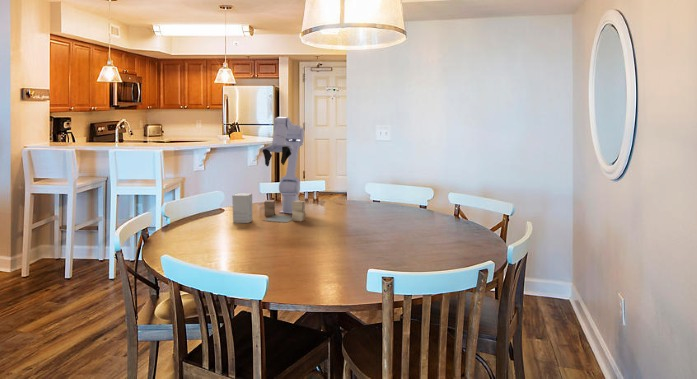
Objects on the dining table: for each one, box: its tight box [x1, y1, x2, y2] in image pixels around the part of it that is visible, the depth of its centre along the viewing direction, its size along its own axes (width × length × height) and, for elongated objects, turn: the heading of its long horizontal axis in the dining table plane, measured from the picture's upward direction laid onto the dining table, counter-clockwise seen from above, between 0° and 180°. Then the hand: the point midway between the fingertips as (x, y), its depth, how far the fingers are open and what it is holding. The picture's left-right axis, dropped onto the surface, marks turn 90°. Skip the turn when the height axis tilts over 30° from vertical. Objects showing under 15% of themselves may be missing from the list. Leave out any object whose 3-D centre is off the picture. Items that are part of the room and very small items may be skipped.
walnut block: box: [264, 199, 276, 217], centre depth 243 cm, size 4×4×7 cm
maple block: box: [291, 199, 306, 223], centre depth 230 cm, size 4×4×9 cm
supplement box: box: [231, 192, 254, 224], centre depth 226 cm, size 7×7×13 cm
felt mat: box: [262, 214, 292, 224], centre depth 234 cm, size 14×12×1 cm
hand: (274, 164), depth 219 cm, fingers open, 7 cm apart
